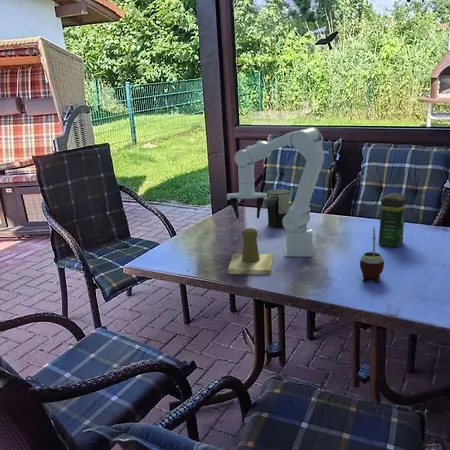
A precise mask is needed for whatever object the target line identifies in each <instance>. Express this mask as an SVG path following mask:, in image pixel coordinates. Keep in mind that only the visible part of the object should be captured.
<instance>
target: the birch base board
mask: <svg viewBox="0 0 450 450" xmlns="http://www.w3.org/2000/svg"><path fill="white" fill-rule="evenodd" d="M242 255H243V253H233V254H232V257H231V260H230V262H229V265H228V267H227V274H228V275H271V274H272V268H273V261H274V253H259V258H260V260H259V261H258V262H255V263H245V262H243V261H242Z"/></svg>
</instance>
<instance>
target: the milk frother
mask: <svg viewBox="0 0 450 450" xmlns="http://www.w3.org/2000/svg"><path fill="white" fill-rule="evenodd" d="M266 193H267V200H268V201H267V207H266V208H267V220H268V221H267V222H268V223H267V226H268V227H269V228H272V229H285V228H284V226H283V223H282V220H283V217H284V216H285V215H286V214H287V212H288V210H289V208H290V205H289V203H290V202H289V201H290V190H288V189H286V188H274V189H269V190H267V191H266Z"/></svg>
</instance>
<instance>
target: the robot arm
mask: <svg viewBox="0 0 450 450" xmlns="http://www.w3.org/2000/svg"><path fill="white" fill-rule="evenodd" d="M323 141H324V137H323V135H322V134H321V132H320V131H319V129H318V128H316V127H313V126H311V127H307V128H305V129H303V128H302V129H300V130H295V131H291V132H289V133H285V134H283V135H281V136H279V137H277V138H275V139H273V140H271V141H269V142H268V141H266V140H258V141H257V140H256V142H255V144H253V145H247V146H246V147H245V149H239V150H238V151H236V153H235V154H234V158H233V159H234V162H235V164H236V165H237V174H238V192H231V193H227V195H226V198H227V199H226V200H228V201H229V203H230V205H231V207H232V208H233V211H234V214H235V218H236V219H237V220H238V219H239V217H240V213H239V200H256V209H257V210H256V219H260V215H261V214H260V213H261V209H262V206H263V204H264V201H265V200H268V192H256V190H255V163H256V162H258V161H261V160H263V159H266V158H269V157H270V156H271V154H272V152H273V151H275V150H278V149H281V148H283V147H285V146H289V147H290V148H292V147H293V148H294V149H295V150H296V151H297V152H298V153H299V154H300V155H302V156H303V158H304V160H305V165H304V167H303V171H302V173H301V174H302V175H301V177H300V181H299V183H298V187H297V191H296V193H295V195H294V200H293V203H292V204H291V206H289V210H288V212H287V214H286V215H285V216H284V217H283V220H282V223H283V226H284V228H283V229H285V249H284V257H297V258H299V257H301V258H303V257H307V258H308V257H310V258H311V257H313V250H314V244H313V228H308V226H307V225H308V223H309V222H310V220H311V215H310V212H311V207H310V202H311V200H312V197H313V194H314V190H315V187H316V185H317V181H318V179H319V175H320V173H321V171H322V170H321V169H322V168H323V163H324V161H325V154H324V147H323V146H324V145H323Z"/></svg>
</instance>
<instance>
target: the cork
mask: <svg viewBox="0 0 450 450" xmlns="http://www.w3.org/2000/svg"><path fill="white" fill-rule="evenodd" d="M258 234H259V233H258V230H257V229H255V228H253V227H249V228H245V229H243V230H242V233H241V236H242V239H243V245H242V246H243V247H242V254H243V255H242V261H243V262H245V263H255V262H258V261H259V260H260V258H259V254H260V253H259V246H258V241H257V238H258Z"/></svg>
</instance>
